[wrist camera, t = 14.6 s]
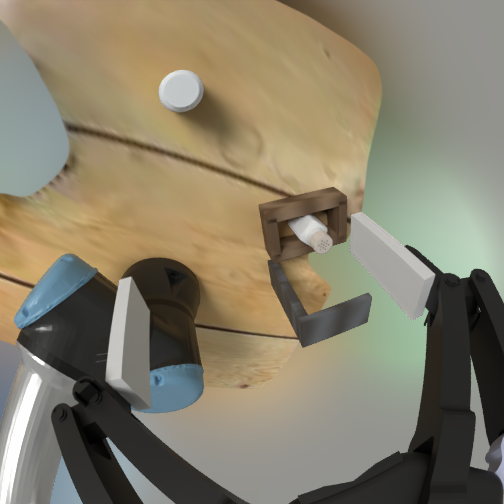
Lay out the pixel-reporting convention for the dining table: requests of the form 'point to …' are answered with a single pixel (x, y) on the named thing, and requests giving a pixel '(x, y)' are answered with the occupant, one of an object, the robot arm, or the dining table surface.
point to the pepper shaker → (311, 232)
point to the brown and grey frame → (291, 246)
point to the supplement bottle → (181, 91)
